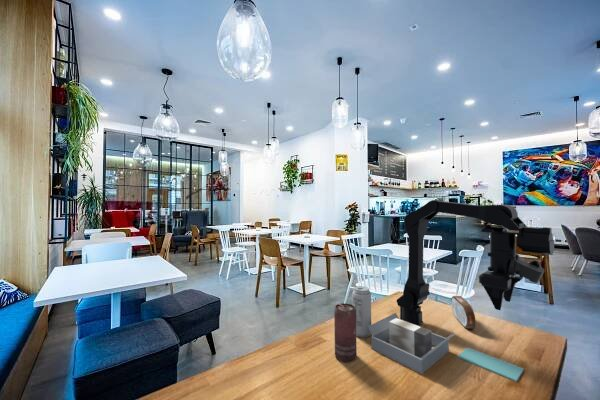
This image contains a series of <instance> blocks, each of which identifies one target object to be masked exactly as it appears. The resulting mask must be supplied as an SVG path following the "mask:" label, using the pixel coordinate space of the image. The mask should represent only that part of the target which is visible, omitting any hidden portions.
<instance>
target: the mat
mask: <svg viewBox="0 0 600 400" xmlns="http://www.w3.org/2000/svg"><path fill="white" fill-rule="evenodd" d="M457 359H461V360H463V361H465V362H467V363H470V364H471V365H475V366H477V367H479V368H482V369H484V370H487V371H488V372H492V373H493V374H497V375H499V376H501V377H504V378H506V379H508V380H511V381H512V382H518V381H519V378H520V377H521V375H522V373H523V372H524V371H525V370H524V367H521V366H518V365H515V364H513V363H509V362H507V361H504V360H502V359H499V358H497V357H494V356H492V355H489V354H486V353H483V352H481V351H478V350H476V349H474V348H473V349H472V348H470V347H466V348H465V349H464V350H462V352H460V353H459V354H458V355H457Z"/></svg>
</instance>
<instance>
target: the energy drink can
mask: <svg viewBox="0 0 600 400" xmlns="http://www.w3.org/2000/svg"><path fill="white" fill-rule="evenodd" d="M351 296H352V299H351V300H352V305H353V306H354V307H355V309H356V337H358V338H369V337H370V336H371V335H372V334H371V332H370V331H369V329H368V326H370V325H372V293H371V292H370V288H369V287H367V286H365V285H364V286H363V285H357V286H355V287H354V288H353V290H352V295H351Z"/></svg>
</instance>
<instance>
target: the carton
mask: <svg viewBox="0 0 600 400" xmlns="http://www.w3.org/2000/svg"><path fill="white" fill-rule="evenodd" d="M397 314H398V313H396V312H395V313H392V314H390V315H389V316H386V317H385V318H382V319H380V320H378V321H376V322H374V323H371V325H370V326H368V329H369V331H370V332H371V334H370V335H371V338H370V339H371V343H370V344H371V345H370V348H371V350H374V351H375V352H377V353H380V354H382V355H383V356H385V357H387V358H389V359H391V360H394V361H395V362H397V363H399V364H401V365H403V366H404V367H407V368H409V369H411V370H413V371H415V372H417V373H418V374H421V375H423V374H424V373H425V372H426V371H427V370H428V369H430V368H431V367H432V366H433V365H435V364H436V363H437V362H438V361H439V360H440V359H441V358H443V357H444V356H445V355H446V354H448V353H449V351H450V342H449V341H450V339H451V338H452V337H453V336H455V333H454V332H452V333H451V334H449V336H447V337H444V336H442V335H439V334H437V333H434V332H432V346H433V347H432V349H431V350H430V351H429V352H428V353H426V354H425V355H424V356H422V357H421V358H419V357H417V356H415V355H412V354H410V353H408V352H406V351H404V350H402V349H399V348H397V347H395V346H393V345H391V344H389V321H391V320H393V319H395V318H398V319H400V316H398V315H397Z"/></svg>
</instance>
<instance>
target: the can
mask: <svg viewBox="0 0 600 400" xmlns="http://www.w3.org/2000/svg"><path fill="white" fill-rule="evenodd" d="M333 313H334V314H333V315H334V317H333V318H334V321H333V322H334V323H333V325H334V356H335V357H336V359H337V360H339V361H340V362H344V363H350V362H353V361H354V360H356V359H357V354H358V353H357V352H358V351H357V336H356V309H355V307H354V306H353V304H350V303H337V304H336V305H335V307H334V312H333Z"/></svg>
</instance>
